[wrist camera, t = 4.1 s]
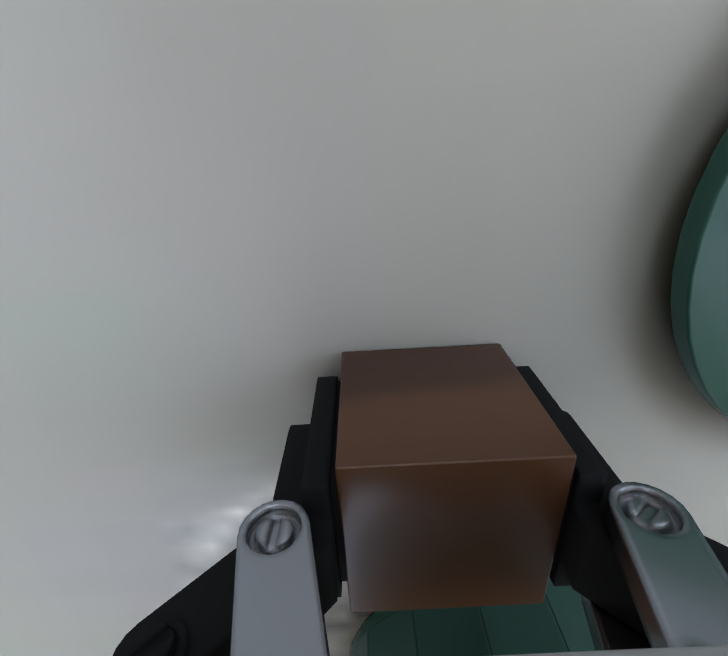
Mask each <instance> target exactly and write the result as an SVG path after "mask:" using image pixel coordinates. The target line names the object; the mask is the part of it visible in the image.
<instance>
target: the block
mask: <svg viewBox="0 0 728 656" xmlns="http://www.w3.org/2000/svg"><path fill="white" fill-rule="evenodd" d="M576 458H577V456H576V454H575V452H574V451H573V449H572V448H571V447H570V445H569V444H568V442H567V441H566V439H565V438H564V436H563V435H562V434H561V432H560V431H559V429H558V428H557V426H556V425H555V423H554V422H553V421H552V419H551V418H550V416H549V415H548V413H547V412H546V410H545V409H544V407H543V406H542V405H541V403H540V402H539V400H538V399H537V397H536V396H535V394H534V393H533V392H532V390H531V389H530V387H529V386H528V384H527V383H526V381H525V380H524V379H523V377H522V376H521V374H520V373H519V371H518V370H517V368H516V367H515V366H514V364H513V363H512V361H511V360H510V358H509V357H508V355H507V354H506V353H505V351H504V350H503V348H502V347H501V345H500V344H485V345H466V346H447V347H429V348H410V349H391V350H373V351H354V352H343V353H342V366H341V382H340V398H339V414H338V429H337V445H336V461H335V473H336V482H337V491H338V500H339V510H340V519H341V528H342V537H343V546H344V556H345V565H346V574H347V583H348V592H349V602H350V610H351V612H352V613H357V612H377V611H397V610H417V609H438V608H458V607H478V606H498V605H518V604H538V603H543V602H544V598H545V593H546V589H547V585H548V580H549V576H550V572H551V567H552V563H553V559H554V554H555V550H556V545H557V541H558V537H559V532H560V528H561V524H562V519H563V515H564V511H565V506H566V502H567V497H568V493H569V489H570V484H571V480H572V476H573V471H574V467H575V463H576Z"/></svg>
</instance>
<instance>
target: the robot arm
mask: <svg viewBox="0 0 728 656" xmlns="http://www.w3.org/2000/svg"><path fill="white" fill-rule="evenodd" d="M516 368H517V370H518V371H519V373H520V374H521V376H522V377H523V379H524V380H525V381H526V383H527V384H528V386H529V387H530V389H531V390H532V392H533V393H534V394H535V396H536V397H537V399H538V400H539V402H540V403H541V405H542V406H543V407H544V409H545V410H546V412H547V413H548V415H549V416H550V418H551V419H552V421H553V422H554V423H555V425H556V426H557V428H558V429H559V431H560V432H561V434H562V435H563V436H564V438H565V439H566V441H567V442H568V444H569V445H570V447H571V448H572V449H573V451H574V452H575V454H576V456H577V458H576V463H575V467H574V471H573V476H572V480H571V484H570V489H569V493H568V497H567V502H566V506H565V511H564V515H563V519H562V524H561V528H560V532H559V537H558V541H557V545H556V550H555V554H554V559H553V563H552V567H551V572H550V576H549V577H550V579H551V581H552V584H553V586H571V587H572V589H573V590H575V591H576V592H578V593H580V594H581V600H582V605H583V608H584V612H585V616H586V619H587V623H588V627H589V630H590V634H591V638H592V641H593V645H594V648H595V651H581V652H560V653H539V654H518V655H498V656H728V547H727V546H724V545H722V544H720V543H718V542H716V541H714V540H712V539H710V538H708V537H705V536H703V534H702V532H701V531H700V529H699V528H698V526H697V524H696V523H695V521H694V520H693V518H692V516H691V515H690V513H689V512H688V511H687V510H686V508H685V507H684V506H683V505H682V504H681V503H680V502H678V501H677V500H676V499H675V498H674V497H672V496H671V495H669V494H667V493H665V492H664V491H662V490H660V489H658V488H655V487H652V486H650V485H647V484H642V483H637V482H624V483H622V482H621V481H620V480H619V478H618V477H617V476H616V474H615V473H614V472H613V470H612V469H611V468H610V466H609V465H608V464H607V463H606V461H605V460H604V459H603V457H602V456H601V455H600V453H599V452H598V451H597V450H596V448H595V447H594V446H593V444H592V443H591V442H590V440H589V439H588V438H587V436H586V435H585V434H584V433H583V431H582V430H581V429H580V427H579V426H578V425H577V423H576V422H575V421H574V420H573V418H572V417H571V416H570V415H569V414H568V413H567V412H565V411H562V410H561V408H560V407H559V406H558V404H557V403H556V402H555V400H554V399H553V398H552V396H551V395H550V394H549V392H548V391H547V390H546V388H545V387H544V386H543V384H542V383H541V382H540V380H539V379H538V378H537V376H536V375H535V374H534V372H533V371H532V370H531V368H530V367H529V366H518V367H516ZM340 382H341V381H338V377H337V376H330V377H318V379H317V385H316V392H315V398H314V404H313V411H312V417H311V423H310V424H303V425H291V426H290V429H289V432H288V437H287V441H286V445H285V450H284V454H283V458H282V463H281V467H280V472H279V476H278V480H277V485H276V489H275V494H274V498H273V501H271V502H268V503H265V504H262V505H261V506H259V507H257V508H256V509H254V510H253V511H252V512H251V513H250V514H249V515H248V516H247V517H246V518H245V519H244V521H243V522H242V524H241V526H240V528H239V532H238V536H237V548H236V549H234V550H233V551H232V552H230V553H229V554H228V555H227V556H225V557H224V558H223V559H221V560H220V561H219V562H217V563H216V564H215V565H214V566H212V567H211V568H210V569H208V570H207V571H206V572H204V573H203V574H202V575H201V576H199V577H198V578H197V579H195V580H194V581H193V582H191V583H190V584H189V585H188V586H186V587H185V588H184V589H182V590H181V591H180V592H178V593H177V594H176V595H175V596H173V597H172V598H171V599H169V600H168V601H167V602H165V603H164V604H163V605H162V606H160V607H159V608H158V609H156V610H155V611H154V612H152V613H151V614H150V615H149V616H147V617H146V618H145V619H143V620H142V621H141V622H139V623H138V624H137V625H136V626H135V627H134V628H133V629H132V630H131V631H130V632H129V633H128V634H126V636H125V637H124V638H123V640H122V641H121V643H120V644H119V645H118V647H117V648H116V650H115V652H114V654H113V656H330V655H329V647H328V640H327V633H326V625H325V618H324V614H325V613H326V612H327V611H328V610H329V609H330V608H331V607H332V606H333V605H334V604H335V603H336V602H337V597H341V593H342V581H347V574H346V565H345V556H344V546H343V537H342V528H341V519H340V510H339V500H338V491H337V482H336V473H335V461H336V445H337V429H338V414H339V398H340Z"/></svg>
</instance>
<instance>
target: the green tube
mask: <svg viewBox="0 0 728 656" xmlns="http://www.w3.org/2000/svg"><path fill="white" fill-rule="evenodd" d="M581 651H595V648H594V645H593V641H592V638H591V634H590V630H589V627H588V623H587V619H586V616H585V612H584V608H583V605H582V600H581V594H580V593H578V592H576V591H575V590H573V589H572V587H571V586H553V584H552V581H551V579H550V577H549V580H548V585H547V589H546V593H545V598H544V602H543V603H538V604H518V605H498V606H478V607H458V608H438V609H417V610H397V611H377V612H374V613H373V614H372V615H371V616H370V617H369V618H368V619H367V620H366V621H365V622H364V624H363V625H362V626H361V628H360V629H359V631H358V632H357V634H356V636H355V638H354V641H353V643H352V646H351V651H350V656H498V655H518V654H539V653H560V652H581Z"/></svg>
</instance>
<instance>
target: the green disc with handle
mask: <svg viewBox="0 0 728 656" xmlns="http://www.w3.org/2000/svg"><path fill="white" fill-rule="evenodd" d="M670 302H671V316H672V330H673V334H674V338H675V342H676V346H677V350H678V354H679V357H680V359H681V361H682V363H683V365H684V367H685V370H686V372H687V374H688V376H689V378H690V380H691V381H692V383H693V384H694V385H695V387H696V388H697V389H698V391H699V392H700V394H701V395H702V396H703V398H704V399H705V400H707V401H708V402H709V403H710V404H711V405H712V406H713V407H714V408H715V409H716V410H717V411H719V412H720V413H721V414H722V415H723V416H725V417H726V418H727V419H728V128H727V129H726V131H725V133H724V134H723V136H722V138H721V139H720V141H719V143H718V144H717V146H716V148H715V150H714V152H713V154H712V156H711V158H710V160H709V162H708V165H707V167H706V169H705V171H704V173H703V175H702V177H701V179H700V181H699V184H698V186H697V188H696V190H695V192H694V195H693V198H692V201H691V204H690V207H689V209H688V212H687V215H686V218H685V221H684V224H683V227H682V230H681V233H680V238H679V242H678V247H677V251H676V256H675V261H674V265H673V274H672V286H671V298H670Z"/></svg>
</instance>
